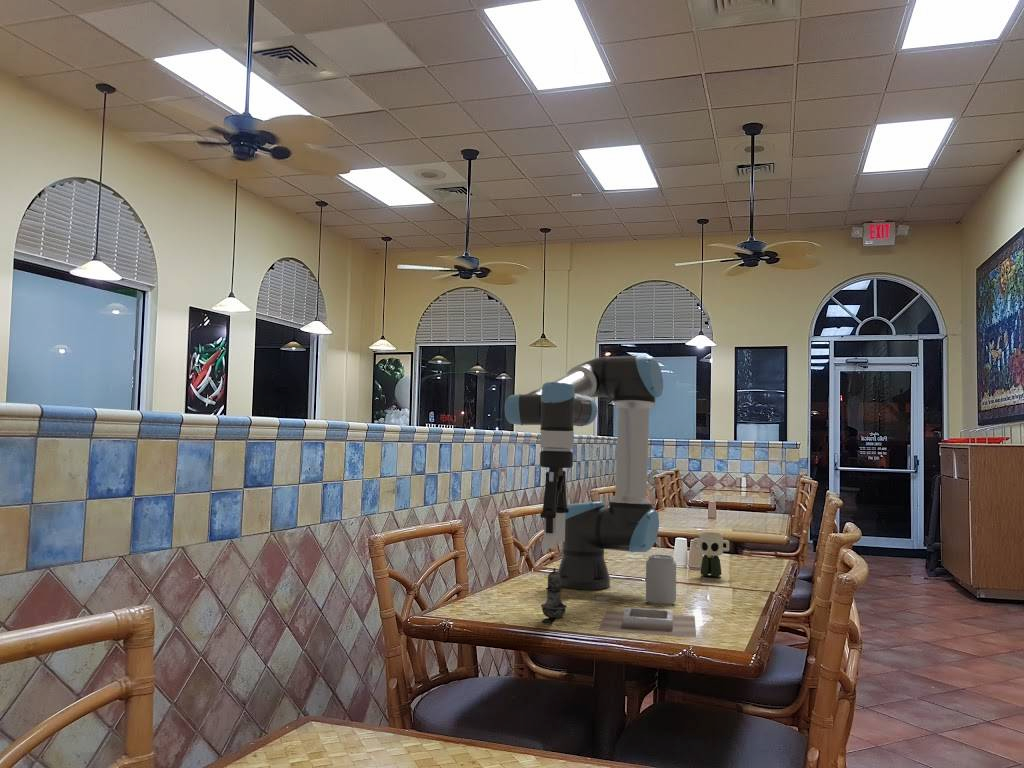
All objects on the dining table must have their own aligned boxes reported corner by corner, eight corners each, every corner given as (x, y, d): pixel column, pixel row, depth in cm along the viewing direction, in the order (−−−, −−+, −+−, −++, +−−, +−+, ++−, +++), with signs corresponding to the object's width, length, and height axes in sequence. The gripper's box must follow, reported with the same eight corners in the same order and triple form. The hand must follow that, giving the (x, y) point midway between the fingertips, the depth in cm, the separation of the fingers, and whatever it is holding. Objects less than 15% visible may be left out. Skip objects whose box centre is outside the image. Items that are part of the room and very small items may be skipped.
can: (679, 606, 198) (679, 558, 199) (649, 606, 198) (649, 557, 198) (671, 600, 205) (672, 553, 206) (642, 600, 205) (643, 553, 206)
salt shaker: (541, 618, 182) (542, 565, 183) (567, 619, 181) (568, 566, 182) (539, 624, 176) (540, 569, 177) (566, 625, 176) (567, 570, 176)
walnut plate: (606, 615, 186) (606, 610, 186) (694, 621, 182) (694, 616, 182) (598, 636, 167) (598, 630, 167) (696, 643, 163) (696, 637, 163)
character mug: (690, 576, 242) (691, 533, 243) (694, 573, 249) (695, 531, 250) (727, 579, 238) (727, 535, 239) (730, 576, 245) (730, 533, 246)
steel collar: (626, 616, 181) (626, 607, 181) (673, 619, 179) (673, 610, 179) (622, 626, 171) (623, 617, 171) (672, 630, 168) (672, 620, 169)
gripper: (549, 449, 194) (546, 537, 193) (530, 449, 170) (527, 550, 168) (579, 450, 193) (577, 539, 191) (565, 450, 168) (563, 552, 167)
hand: (554, 544), depth 180 cm, fingers open, 13 cm apart
